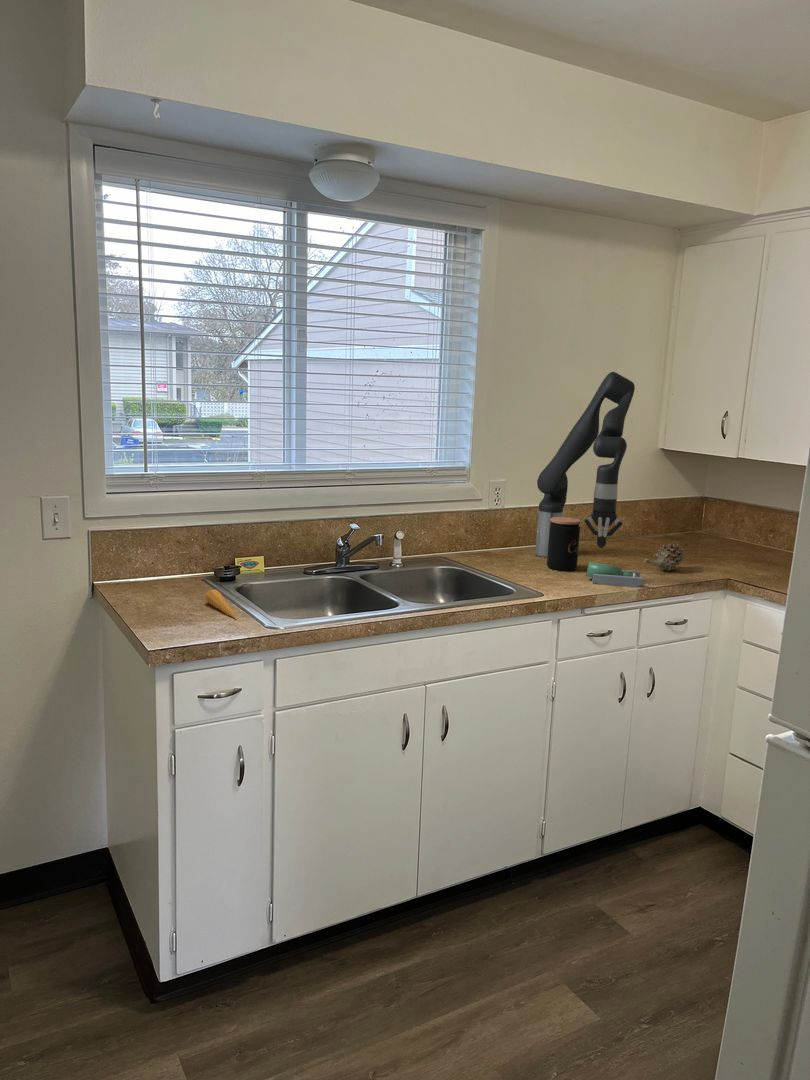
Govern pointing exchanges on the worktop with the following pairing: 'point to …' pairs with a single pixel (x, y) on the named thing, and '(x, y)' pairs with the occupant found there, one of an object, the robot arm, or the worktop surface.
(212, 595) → the carrot
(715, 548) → the worktop surface
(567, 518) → the coffee jar
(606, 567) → the bottle
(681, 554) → the pine cone
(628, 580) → the cradle
